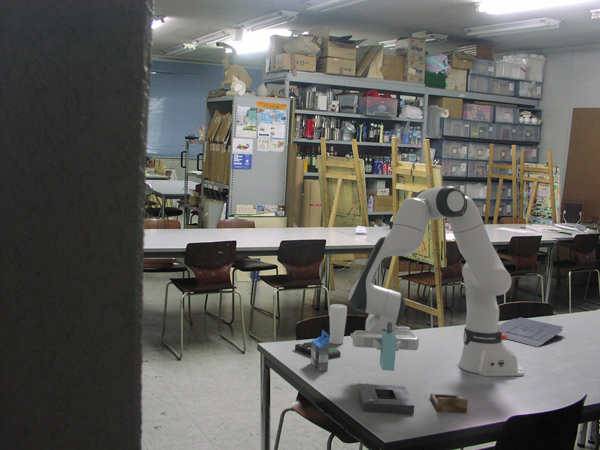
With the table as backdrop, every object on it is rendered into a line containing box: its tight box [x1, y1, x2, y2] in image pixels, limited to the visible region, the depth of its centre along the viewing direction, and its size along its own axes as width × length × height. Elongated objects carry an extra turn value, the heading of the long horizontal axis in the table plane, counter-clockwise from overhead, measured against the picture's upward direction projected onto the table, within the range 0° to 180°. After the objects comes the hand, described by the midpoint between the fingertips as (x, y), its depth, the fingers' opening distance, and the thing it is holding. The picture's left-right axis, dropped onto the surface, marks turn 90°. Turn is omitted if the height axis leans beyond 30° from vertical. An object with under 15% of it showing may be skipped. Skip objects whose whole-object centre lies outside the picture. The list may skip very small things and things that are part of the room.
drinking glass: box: [329, 303, 348, 345], centre depth 248 cm, size 7×7×15 cm
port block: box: [358, 383, 415, 415], centre depth 188 cm, size 14×16×3 cm
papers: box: [498, 317, 564, 348], centre depth 276 cm, size 24×30×4 cm
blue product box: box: [310, 329, 330, 372], centre depth 217 cm, size 9×4×12 cm, turn 16°
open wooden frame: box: [429, 392, 469, 414], centre depth 188 cm, size 8×11×4 cm
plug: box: [379, 322, 396, 372], centre depth 186 cm, size 4×6×14 cm, turn 0°
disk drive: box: [294, 341, 341, 360], centre depth 234 cm, size 10×3×15 cm
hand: (388, 347), depth 186 cm, fingers closed on plug, 3 cm apart
